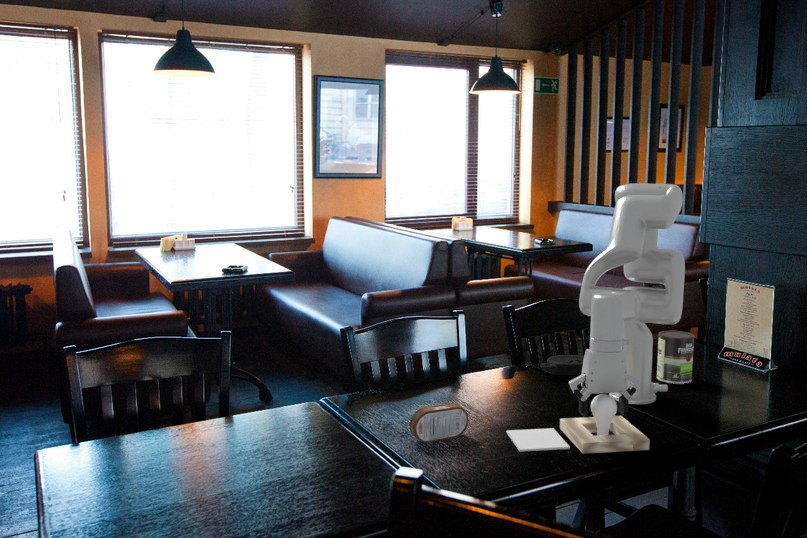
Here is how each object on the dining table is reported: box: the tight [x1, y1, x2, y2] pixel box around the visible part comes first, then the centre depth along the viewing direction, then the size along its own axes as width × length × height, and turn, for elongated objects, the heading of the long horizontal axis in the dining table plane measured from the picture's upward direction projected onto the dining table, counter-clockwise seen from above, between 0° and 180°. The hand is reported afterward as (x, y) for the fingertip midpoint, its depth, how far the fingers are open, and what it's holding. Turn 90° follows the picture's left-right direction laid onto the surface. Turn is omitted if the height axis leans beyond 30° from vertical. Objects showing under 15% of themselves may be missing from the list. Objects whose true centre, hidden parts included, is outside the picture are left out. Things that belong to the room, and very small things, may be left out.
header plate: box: [559, 415, 650, 454], centre depth 177 cm, size 16×16×2 cm
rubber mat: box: [506, 427, 571, 452], centre depth 176 cm, size 12×12×1 cm
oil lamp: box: [539, 354, 585, 376], centre depth 230 cm, size 15×20×5 cm
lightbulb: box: [590, 393, 618, 436], centre depth 176 cm, size 6×6×11 cm
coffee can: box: [656, 330, 695, 385], centre depth 223 cm, size 10×10×14 cm
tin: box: [409, 402, 470, 444], centre depth 177 cm, size 15×3×8 cm, turn 114°
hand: (603, 414), depth 176 cm, fingers open, 9 cm apart
